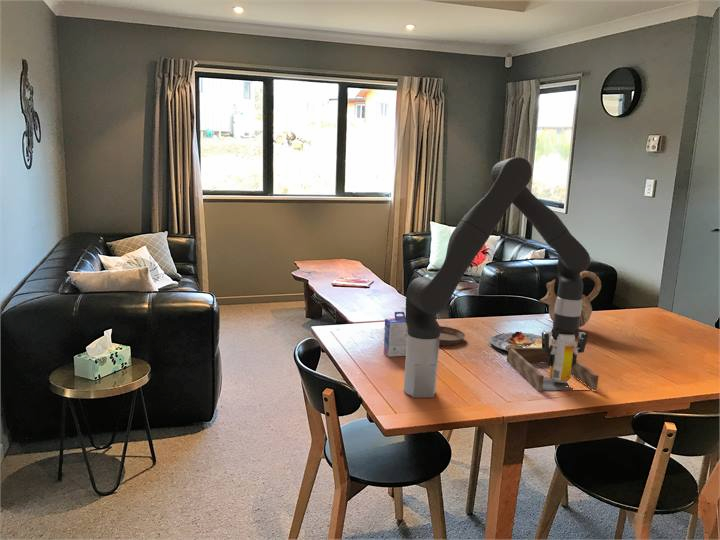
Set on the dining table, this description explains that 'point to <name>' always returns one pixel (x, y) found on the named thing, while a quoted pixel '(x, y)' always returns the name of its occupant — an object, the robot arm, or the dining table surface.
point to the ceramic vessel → (586, 305)
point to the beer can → (562, 358)
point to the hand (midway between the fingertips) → (561, 365)
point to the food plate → (517, 340)
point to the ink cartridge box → (395, 336)
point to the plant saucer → (450, 336)
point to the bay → (536, 379)
